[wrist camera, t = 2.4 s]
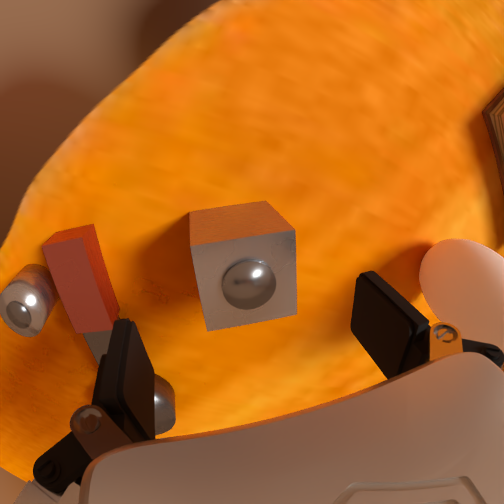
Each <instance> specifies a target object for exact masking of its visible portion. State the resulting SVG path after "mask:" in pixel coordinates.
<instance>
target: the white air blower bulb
mask: <svg viewBox="0 0 504 504" xmlns="http://www.w3.org/2000/svg"><path fill="white" fill-rule="evenodd" d="M419 282H420V286H421V289H422V292H423V295H424V297H425V299H426V301H427V303H428V305H429V307H430V308H431V310H432V311H433V313H434V314H435V315H436V316H437V318H438V319H439V320H440V321H441V322H446V323H450V324H452V325H454V326H455V327H456V328H458V330H459V331H460V333H461V338H462V339H467V340H473V341H478V342H483V343H489V344H493V345H495V346H497V347H499V348H500V349H501V350H502V352H503V353H504V258H503V257H502V256H500V255H499V254H498V253H496V252H495V251H493V250H491V249H490V248H488V247H486V246H484V245H482V244H479V243H477V242H474V241H471V240H466V239H447V240H443V241H440V242H438V243H437V244H436V245H435V246H433V247H432V248H430V249H429V250H428V252H427V253H426V254H425V256H424V258H423V260H422V262H421V266H420V273H419Z"/></svg>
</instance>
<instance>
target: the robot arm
mask: <svg viewBox="0 0 504 504" xmlns="http://www.w3.org/2000/svg"><path fill="white" fill-rule="evenodd" d="M428 324H429V320H428V319H426V318H425V317H424V316H423V315H422V314H421V313H420V312H419V311H418V310H417V309H416V308H415V307H414V306H412V305H411V304H410V303H409V302H408V301H407V300H406V299H405V298H404V297H403V296H401V295H400V294H399V293H398V292H397V291H396V290H395V289H394V288H393V287H391V286H390V285H389V284H388V283H387V282H386V281H385V280H383V279H382V278H381V277H380V276H379V275H378V274H377V273H375V272H374V271H368V272H364V273H361V274H360V275H359V277H358V278H357V279H356V287H355V295H354V303H353V311H352V318H351V331H352V333H353V334H354V335H355V337H356V338H357V339H358V341H359V342H360V343H361V345H362V346H363V347H364V349H365V350H366V351H367V353H368V354H369V355H370V356H371V358H372V359H373V360H374V362H375V363H376V364H377V366H378V367H379V368H380V370H381V371H382V372H383V374H384V375H385V377H386V378H387V379H388V380H386V381H383V382H381V383H378V384H376V385H373V386H371V387H368V388H366V389H363V390H360V391H358V392H355V393H352V394H350V395H347V396H344V397H341V398H338V399H335V400H332V401H330V402H326V403H323V404H320V405H317V406H314V407H311V408H307V409H304V410H301V411H297V412H294V413H290V414H286V415H283V416H279V417H275V418H271V419H267V420H263V421H259V422H254V423H250V424H245V425H241V426H236V427H231V428H226V429H220V430H214V431H208V432H203V433H197V434H190V435H183V436H176V437H168V438H161V439H155V374H154V369H153V366H152V364H151V362H150V359H149V357H148V355H147V352H146V350H145V347H144V345H143V342H142V340H141V337H140V335H139V332H138V329H137V327H136V324H135V322H134V321H132V322H130V320H129V319H128V318H127V319H120V320H115V321H114V324H113V329H112V333H111V337H110V342H109V346H108V351H107V354H103V355H102V356H101V359H100V364H99V368H98V373H97V378H96V383H95V388H94V393H93V399H92V405H86V406H82V407H80V408H79V409H77V410H76V411H75V412H74V413H73V415H72V417H71V420H70V428H71V430H72V432H70V433H69V434H68V435H67V436H65V437H64V438H63V439H62V440H60V441H59V442H58V443H57V444H55V445H54V446H53V447H52V448H50V449H49V450H48V451H47V452H45V453H44V454H43V455H42V456H40V457H39V458H38V459H37V460H36V462H35V464H34V467H33V475H34V480H33V481H32V482H31V481H28V482H27V484H26V485H25V487H24V489H23V490H22V491H21V493H20V494H19V496H18V498H17V499H16V501H15V502H14V504H504V353H503V352H502V350H501V349H500V348H499V347H497V346H495V345H493V344H489V343H483V342H478V341H473V340H467V339H462V338H461V333H460V331H459V330H458V328H456V327H455V326H454V325H452V324H450V323H446V322H439V323H436V324H434V325H433V326H432V327H430V326H429V325H428Z"/></svg>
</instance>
